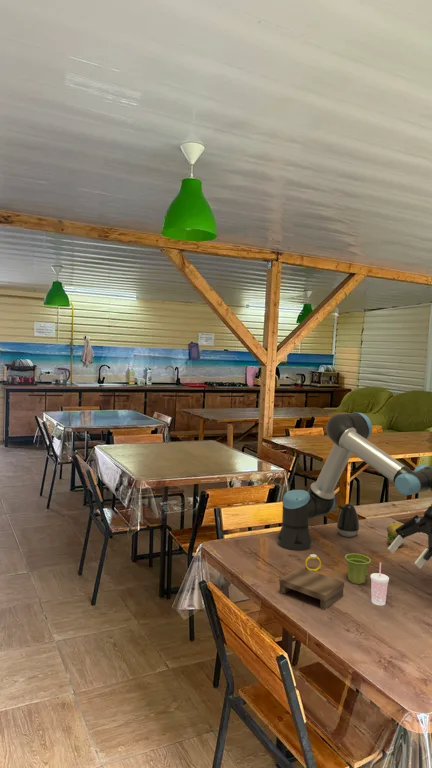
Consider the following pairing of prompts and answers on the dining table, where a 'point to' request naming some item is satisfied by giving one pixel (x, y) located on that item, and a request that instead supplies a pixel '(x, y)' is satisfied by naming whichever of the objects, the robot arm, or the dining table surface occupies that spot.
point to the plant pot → (357, 567)
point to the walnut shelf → (313, 586)
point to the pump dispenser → (348, 521)
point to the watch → (313, 558)
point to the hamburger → (392, 531)
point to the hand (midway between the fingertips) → (403, 558)
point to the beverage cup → (379, 587)
